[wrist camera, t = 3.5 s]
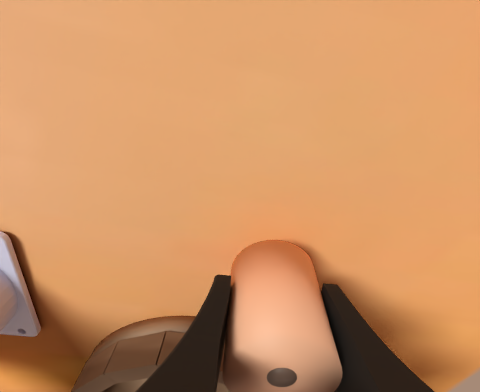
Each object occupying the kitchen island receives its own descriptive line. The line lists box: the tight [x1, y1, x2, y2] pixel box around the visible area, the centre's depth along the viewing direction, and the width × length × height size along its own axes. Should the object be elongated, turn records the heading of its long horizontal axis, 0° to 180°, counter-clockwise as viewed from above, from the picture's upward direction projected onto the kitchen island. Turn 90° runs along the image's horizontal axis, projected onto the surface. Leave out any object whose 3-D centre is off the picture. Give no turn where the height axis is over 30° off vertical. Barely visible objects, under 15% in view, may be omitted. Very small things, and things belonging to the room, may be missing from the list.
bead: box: [222, 240, 342, 392], centre depth 12 cm, size 4×4×5 cm
